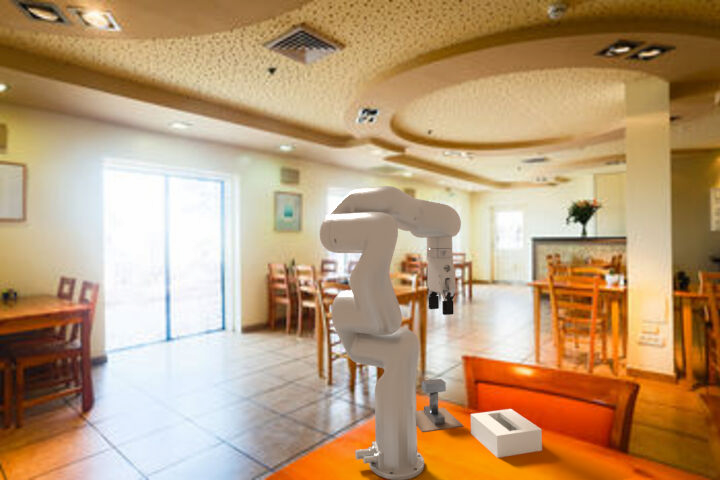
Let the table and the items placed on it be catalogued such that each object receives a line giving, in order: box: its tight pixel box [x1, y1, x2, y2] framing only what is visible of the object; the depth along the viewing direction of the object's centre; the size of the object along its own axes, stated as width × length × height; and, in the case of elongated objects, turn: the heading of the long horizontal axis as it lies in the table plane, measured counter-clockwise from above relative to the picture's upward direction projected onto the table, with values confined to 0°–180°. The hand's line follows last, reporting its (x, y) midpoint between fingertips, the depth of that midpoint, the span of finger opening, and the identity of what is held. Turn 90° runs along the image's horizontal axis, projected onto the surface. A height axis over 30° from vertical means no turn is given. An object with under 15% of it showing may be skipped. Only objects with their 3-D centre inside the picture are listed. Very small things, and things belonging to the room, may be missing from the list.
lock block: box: [470, 408, 543, 458], centre depth 98 cm, size 12×12×6 cm
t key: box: [421, 378, 447, 426], centre depth 111 cm, size 8×6×10 cm
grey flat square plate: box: [416, 407, 464, 433], centre depth 111 cm, size 12×12×1 cm
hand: (440, 311), depth 117 cm, fingers open, 9 cm apart
